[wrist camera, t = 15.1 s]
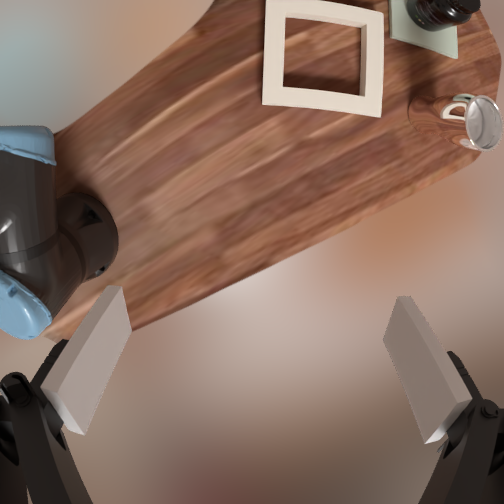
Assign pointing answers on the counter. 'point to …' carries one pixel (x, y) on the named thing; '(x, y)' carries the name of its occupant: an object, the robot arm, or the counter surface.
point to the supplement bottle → (441, 13)
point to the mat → (420, 31)
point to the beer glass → (459, 119)
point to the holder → (367, 103)
